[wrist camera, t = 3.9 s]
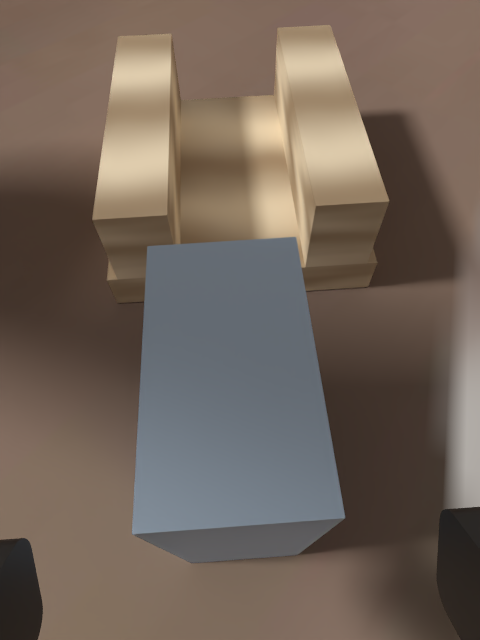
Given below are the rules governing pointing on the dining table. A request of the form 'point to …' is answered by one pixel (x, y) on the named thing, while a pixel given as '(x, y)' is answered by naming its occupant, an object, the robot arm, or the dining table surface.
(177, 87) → the slotted block
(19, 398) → the dining table surface
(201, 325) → the rectangular block
